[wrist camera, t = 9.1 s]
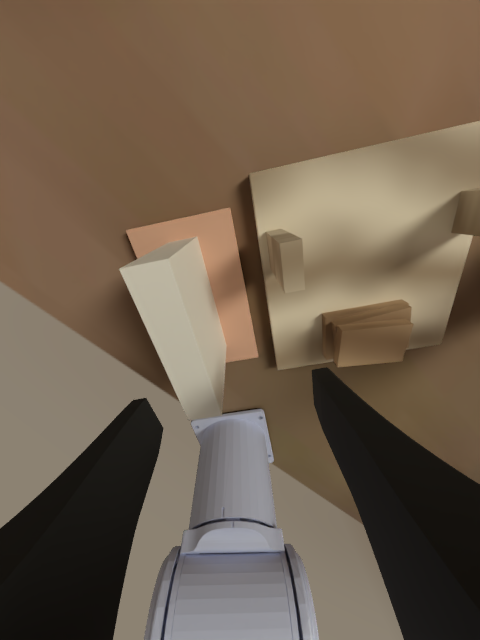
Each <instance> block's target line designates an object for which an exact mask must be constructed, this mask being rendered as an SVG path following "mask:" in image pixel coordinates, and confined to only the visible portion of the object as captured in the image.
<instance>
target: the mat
mask: <svg viewBox="0 0 480 640" xmlns="http://www.w3.org/2000/svg"><path fill="white" fill-rule="evenodd" d="M126 232H127V235H128V237H129V240H130V242H131V245H132V247H133V250H134V252H135V254H136V257H137V259H138V258H140V257H142V256H144V255H146V254H148V253H150V252H152V251H153V250H155V249H157V248H159V247H161V246H163V245H165V244H167V243H168V242H173V241H178V240H182V239H187V238H192V237H198V241H199V245H200V248H201V252H202V256H203V260H204V263H205V267H206V271H207V275H208V278H209V282H210V286H211V290H212V293H213V297H214V301H215V304H216V308H217V312H218V316H219V319H220V323H221V327H222V331H223V334H224V338H225V342H226V345H227V347H226V362H232V361H238V360H244V359H250V358H256V357H258V352H257V346H256V341H255V336H254V331H253V325H252V320H251V315H250V310H249V304H248V299H247V294H246V288H245V283H244V278H243V273H242V267H241V262H240V257H239V252H238V246H237V241H236V236H235V231H234V225H233V220H232V215H231V210H230V208H226V209H221V210H217V211H212V212H207V213H203V214H198V215H194V216H189V217H185V218H180V219H175V220H171V221H166V222H162V223H157V224H152V225H148V226H143V227H139V228H134V229H130V230H126ZM226 362H225V363H226Z"/></svg>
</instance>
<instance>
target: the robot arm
mask: <svg viewBox="0 0 480 640" xmlns="http://www.w3.org/2000/svg"><path fill="white" fill-rule="evenodd" d="M312 380H313V395H314V406H315V409H316V412H317V415H318V418H319V421H320V424H321V426H322V429H323V432H324V434H325V436H326V438H327V440H328V443H329V445H330V447H331V449H332V452H333V454H334V456H335V458H336V460H337V463H338V465H339V467H340V469H341V471H342V474H343V476H344V478H345V480H346V482H347V485H348V487H349V489H350V491H351V494H352V496H353V498H354V501H355V503H356V506H357V508H358V511H359V514H360V516H361V519H362V522H363V525H364V527H365V530H366V533H367V535H368V538H369V541H370V543H371V546H372V549H373V552H374V555H375V558H376V560H377V563H378V565H379V569H380V572H381V574H382V577H383V580H384V583H385V586H386V588H387V591H388V594H389V597H390V600H391V603H392V606H393V609H394V611H395V615H396V617H397V620H398V623H399V626H400V629H401V632H402V635H403V638H404V640H480V484H478V483H476V482H475V481H473V480H472V479H470V478H468V477H467V476H465V475H464V474H462V473H461V472H459V471H458V470H456V469H455V468H453V467H452V466H450V465H449V464H447V463H446V462H444V461H443V460H441V459H440V458H438V457H437V456H435V455H434V454H433V453H431V452H430V451H428V450H427V449H425V448H424V447H422V446H421V445H420V444H418V443H417V442H415V441H414V440H413V439H411V438H410V437H409V436H407V435H406V434H405V433H403V432H402V431H401V430H399V429H398V428H397V427H395V426H394V425H393V424H392V423H390V422H389V421H388V420H386V419H385V418H384V417H383V416H381V415H380V414H379V413H378V412H377V411H375V410H374V409H373V408H372V407H371V406H369V405H368V404H367V403H366V402H365V401H364V400H362V399H361V398H360V397H359V396H358V395H357V394H355V393H354V392H353V391H352V390H351V389H350V388H349V387H348V386H347V385H345V384H344V383H343V382H342V381H341V380H340V379H339V378H338V377H337V376H336V375H335V374H334V373H333V372H332V371H331V370H330V369H328V368H327V367H326V368H320V369H315V370H312ZM191 426H192V428H193V430H194V432H195V435H196V437H197V439H198V441H199V443H200V446H201V449H200V455H199V462H198V469H197V477H196V483H195V490H194V497H193V504H192V510H191V517H190V524H189V530H184V531H183V537H182V544H181V546H175V547H173V549H172V550H171V552H170V554H169V555H168V556H167V557H166V558H165V560H164V561H163V564H162V566H161V568H160V571H159V574H158V577H157V581H156V584H155V588H154V592H153V596H152V600H151V605H150V609H149V614H148V619H147V625H146V631H145V636H144V640H319V635H318V628H317V621H316V616H315V610H314V605H313V599H312V595H311V590H310V586H309V582H308V578H307V574H306V570H305V567H304V564H303V562H302V560H301V558H300V556H299V555H298V554H297V553H296V551H295V549H294V548H293V546H292V545H291V544H284V541H283V534H282V529H281V528H277V525H276V516H275V509H274V501H273V493H272V485H271V478H270V470H269V463H272V462H273V461H274V458H273V453H272V448H271V443H270V438H269V433H268V428H267V424H266V419H265V414H264V410H262V409H254V410H248V411H241V412H234V413H227V414H222V416H215V417H208V418H202V419H195V420H191ZM162 432H163V427H162V425H161V423H160V421H159V420H158V418H157V416H156V414H155V413H154V411H153V409H152V408H151V406H150V404H149V402H148V401H147V399H146V398H143V399H138V400H133V401H132V402H131V403H130V404H129V405H128V406H127V407H126V408H125V409H124V410H123V411H122V412H121V413H120V414H119V415H118V416H117V417H116V418H115V419H114V420H113V421H112V422H111V423H110V425H109V426H108V427H107V428H106V429H105V430H104V431H103V432H102V433H101V434H100V435H99V436H98V437H97V438H96V439H95V440H94V441H93V442H92V443H91V444H90V446H89V447H88V448H87V449H86V450H85V451H84V452H83V453H82V454H81V455H80V456H79V457H78V458H77V459H76V460H75V461H74V462H73V463H72V464H71V465H70V466H69V467H68V468H67V469H66V470H65V471H64V472H63V473H62V474H61V475H60V476H59V477H58V478H57V479H56V480H54V481H53V482H52V483H51V484H50V485H49V486H48V487H47V488H46V489H45V490H44V491H43V492H42V493H41V494H40V495H38V496H37V497H36V498H35V499H34V500H33V501H32V502H31V503H29V505H27V506H26V507H25V508H24V509H23V510H22V511H20V512H19V513H18V514H17V515H16V516H15V517H14V518H12V519H11V520H10V521H9V522H8V523H6V524H5V525H4V526H3V527H2V528H1V529H0V640H113V635H114V629H115V624H116V619H117V613H118V608H119V603H120V598H121V593H122V588H123V583H124V578H125V573H126V569H127V564H128V560H129V555H130V551H131V546H132V542H133V537H134V533H135V530H136V526H137V522H138V519H139V515H140V512H141V509H142V506H143V503H144V499H145V496H146V493H147V490H148V486H149V483H150V480H151V477H152V474H153V470H154V467H155V464H156V461H157V457H158V454H159V449H160V444H161V439H162Z"/></svg>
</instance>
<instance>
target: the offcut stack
mask: <svg viewBox="0 0 480 640" xmlns="http://www.w3.org/2000/svg"><path fill="white" fill-rule="evenodd" d="M411 309H412V307H411V306H409V303H407V302H406V301H404V300H402V299H400V300H394V301H389V302H383V303H377V304H372V305H366V306H360V307H355V308H349V309H343V310H338V311H332V312H326V313H322V352H323V356H324V357H325V359H326V360H329V359H333V361H334V363H335V364H336V366H337V367H347V366H357V365H368V364H379V363H390V362H401V361H403V357H404V354H405V351H406V348H409V338H410V335H411V332H412V328H413V325H414V324H413V323H411Z"/></svg>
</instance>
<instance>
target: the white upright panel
mask: <svg viewBox="0 0 480 640" xmlns="http://www.w3.org/2000/svg"><path fill="white" fill-rule="evenodd" d="M119 270H120V272H121V274H122V276H123V279H124V281H125V283H126V285H127V287H128V289H129V292H130V294H131V296H132V298H133V300H134V303H135V305H136V307H137V309H138V311H139V314H140V316H141V318H142V320H143V322H144V324H145V327H146V329H147V331H148V333H149V335H150V338H151V340H152V342H153V344H154V346H155V349H156V351H157V353H158V355H159V357H160V359H161V362H162V364H163V366H164V368H165V370H166V373H167V375H168V377H169V379H170V381H171V384H172V386H173V388H174V390H175V392H176V394H177V397H178V399H179V401H180V403H181V405H182V408H183V410H184V412H185V414H186V416H187V418H188V420H195V419H202V418H208V417H215V416H222V408H223V393H224V378H225V362H226V347H227V345H226V342H225V338H224V334H223V331H222V327H221V323H220V319H219V316H218V312H217V308H216V304H215V301H214V297H213V293H212V290H211V286H210V282H209V278H208V275H207V271H206V267H205V263H204V260H203V256H202V252H201V248H200V245H199V241H198V237H192V238H187V239H182V240H178V241H173V242H168V243H167V244H165V245H163V246H161V247H159V248H157V249H155V250H153V251H152V252H150V253H148V254H146V255H144V256H142V257H140V258H138V259H137V260H135V261H133V262H131V263H129V264H127V265H125V266H123V267H122V268H120V269H119Z"/></svg>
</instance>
